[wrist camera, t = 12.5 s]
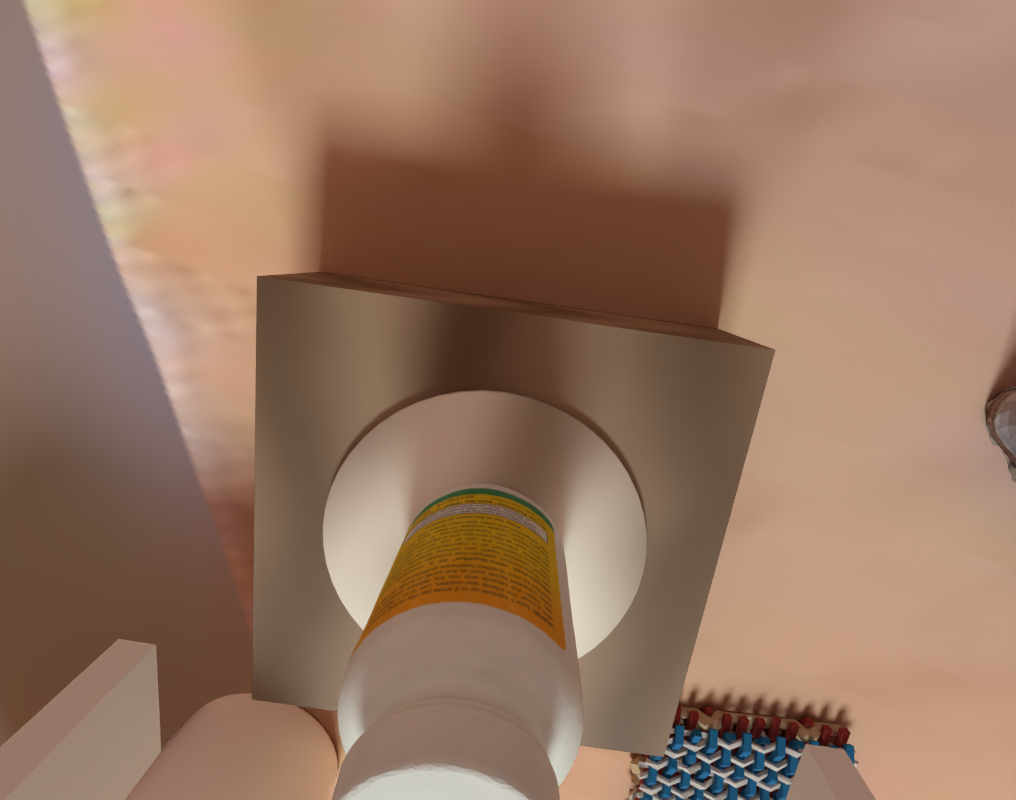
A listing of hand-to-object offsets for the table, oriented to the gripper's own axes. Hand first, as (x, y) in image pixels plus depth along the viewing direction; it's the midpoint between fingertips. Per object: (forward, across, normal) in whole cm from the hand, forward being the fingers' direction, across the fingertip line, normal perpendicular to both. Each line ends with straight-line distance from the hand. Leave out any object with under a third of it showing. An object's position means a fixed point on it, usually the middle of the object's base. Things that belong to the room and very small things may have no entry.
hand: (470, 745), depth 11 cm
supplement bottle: (+8, 0, 0) cm, 8 cm away
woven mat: (+14, -13, +15) cm, 24 cm away
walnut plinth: (+13, 0, 0) cm, 13 cm away
